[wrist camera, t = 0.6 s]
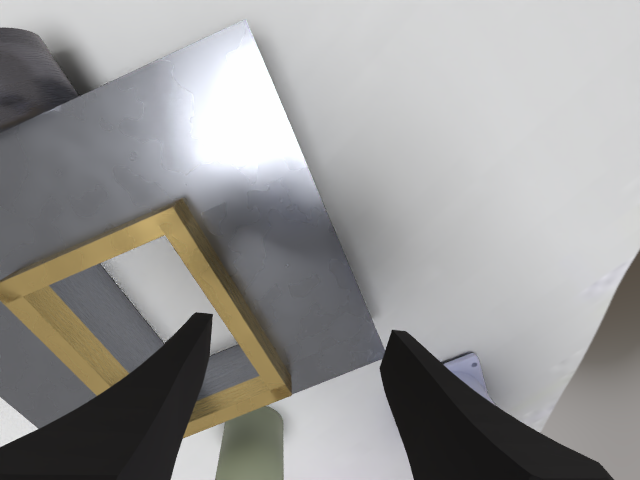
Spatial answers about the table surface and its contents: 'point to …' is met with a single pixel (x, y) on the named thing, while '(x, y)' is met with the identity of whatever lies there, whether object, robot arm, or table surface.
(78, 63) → the table surface
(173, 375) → the robot arm
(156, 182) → the grey panel with frame
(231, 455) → the spout can
